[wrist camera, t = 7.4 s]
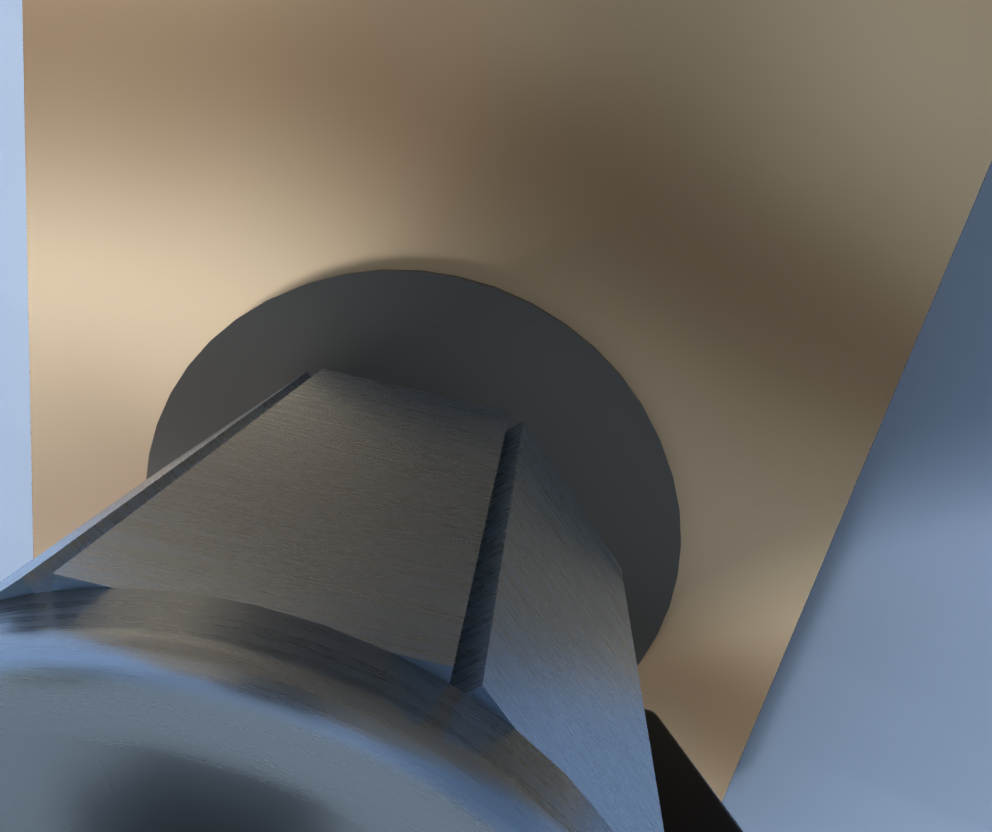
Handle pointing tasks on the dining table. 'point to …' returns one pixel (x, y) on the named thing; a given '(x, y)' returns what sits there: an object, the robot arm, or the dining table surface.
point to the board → (515, 260)
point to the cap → (329, 637)
